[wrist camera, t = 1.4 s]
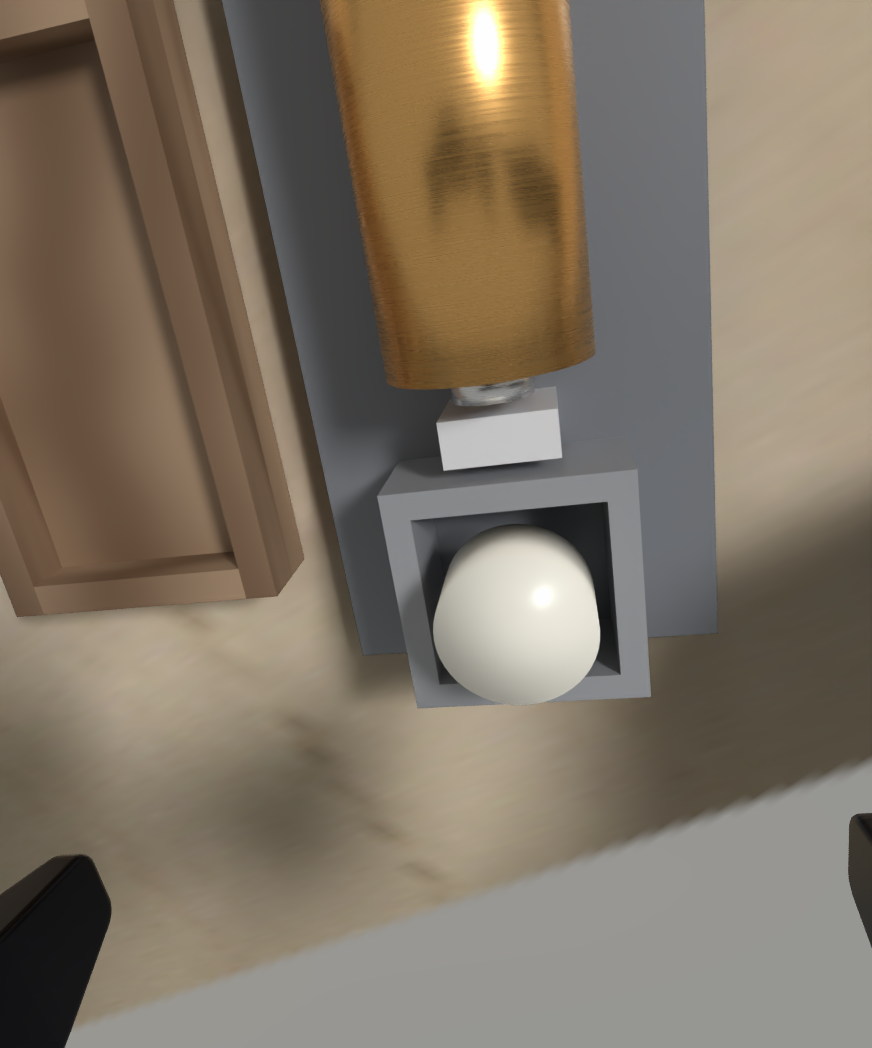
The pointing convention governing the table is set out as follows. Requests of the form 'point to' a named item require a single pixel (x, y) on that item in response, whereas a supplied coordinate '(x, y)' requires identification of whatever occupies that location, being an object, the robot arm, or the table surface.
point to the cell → (466, 188)
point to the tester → (559, 398)
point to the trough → (123, 330)
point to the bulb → (517, 616)
